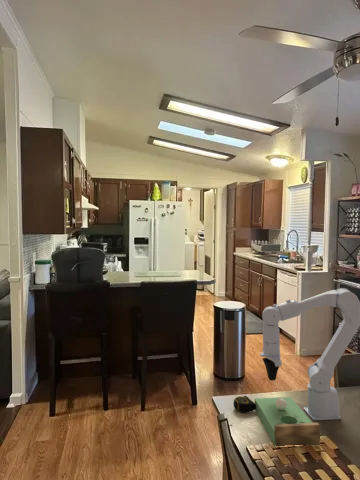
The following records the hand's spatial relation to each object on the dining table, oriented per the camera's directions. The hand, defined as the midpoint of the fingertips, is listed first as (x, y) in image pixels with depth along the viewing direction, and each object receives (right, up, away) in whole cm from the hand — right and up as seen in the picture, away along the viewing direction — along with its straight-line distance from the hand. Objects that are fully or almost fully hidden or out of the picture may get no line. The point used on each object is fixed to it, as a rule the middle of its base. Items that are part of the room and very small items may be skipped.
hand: (272, 379), depth 118 cm
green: (+1, -10, -11) cm, 15 cm away
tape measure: (-10, -11, 0) cm, 15 cm away
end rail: (+1, -10, -21) cm, 24 cm away
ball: (+1, -5, -9) cm, 10 cm away
